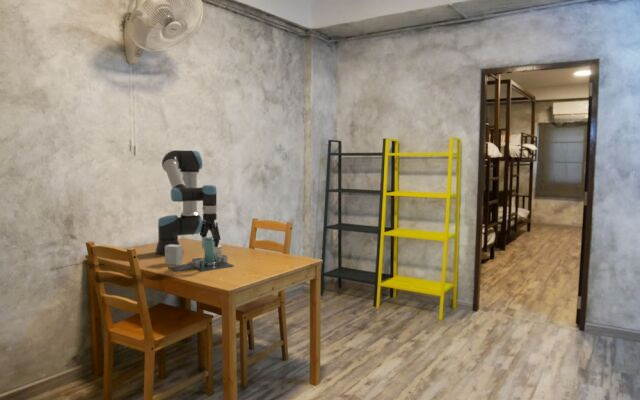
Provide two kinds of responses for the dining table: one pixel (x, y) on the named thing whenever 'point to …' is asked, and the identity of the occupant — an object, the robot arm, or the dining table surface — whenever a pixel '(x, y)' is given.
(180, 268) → the mat
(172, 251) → the small box
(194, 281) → the dining table surface
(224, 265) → the bayonet base
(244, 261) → the dining table surface
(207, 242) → the teal tall rounded piece
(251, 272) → the dining table surface
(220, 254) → the container
